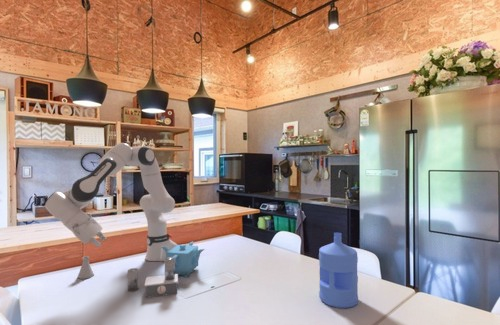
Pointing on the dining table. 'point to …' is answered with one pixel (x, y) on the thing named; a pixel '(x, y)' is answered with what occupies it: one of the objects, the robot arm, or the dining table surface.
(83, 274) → the flask
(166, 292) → the scale
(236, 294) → the dining table surface
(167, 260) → the cylinder
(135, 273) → the ball
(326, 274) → the water jug
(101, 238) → the robot arm
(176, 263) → the teakettle
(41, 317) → the dining table surface
